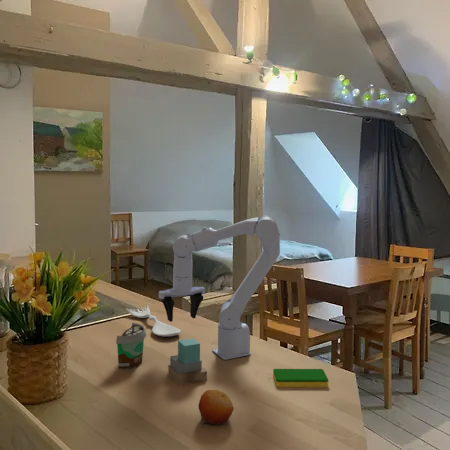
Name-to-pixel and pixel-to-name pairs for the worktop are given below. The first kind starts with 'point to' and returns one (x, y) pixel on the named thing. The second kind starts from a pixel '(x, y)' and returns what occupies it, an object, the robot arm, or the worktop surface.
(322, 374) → the dish sponge
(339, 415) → the worktop surface
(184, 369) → the gray block
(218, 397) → the fruit
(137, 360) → the food container
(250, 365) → the worktop surface
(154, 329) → the spoon
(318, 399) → the worktop surface
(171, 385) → the worktop surface
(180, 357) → the teal block
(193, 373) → the walnut slab
